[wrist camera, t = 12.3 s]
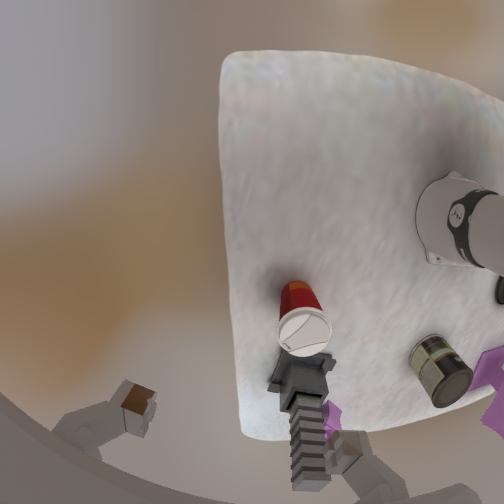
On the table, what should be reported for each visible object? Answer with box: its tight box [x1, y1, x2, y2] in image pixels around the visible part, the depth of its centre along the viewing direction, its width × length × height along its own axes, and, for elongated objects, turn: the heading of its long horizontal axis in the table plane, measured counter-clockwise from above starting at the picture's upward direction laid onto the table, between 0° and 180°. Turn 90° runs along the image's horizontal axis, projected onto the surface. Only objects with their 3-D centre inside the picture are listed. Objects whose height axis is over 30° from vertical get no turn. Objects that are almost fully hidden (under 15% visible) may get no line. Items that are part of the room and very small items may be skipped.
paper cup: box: [276, 281, 332, 357], centre depth 41 cm, size 8×8×14 cm
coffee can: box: [409, 334, 474, 408], centre depth 43 cm, size 10×10×14 cm
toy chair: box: [323, 400, 342, 441], centre depth 48 cm, size 8×9×15 cm
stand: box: [267, 348, 336, 413], centre depth 47 cm, size 11×11×10 cm
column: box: [289, 393, 331, 492], centre depth 34 cm, size 4×4×18 cm
